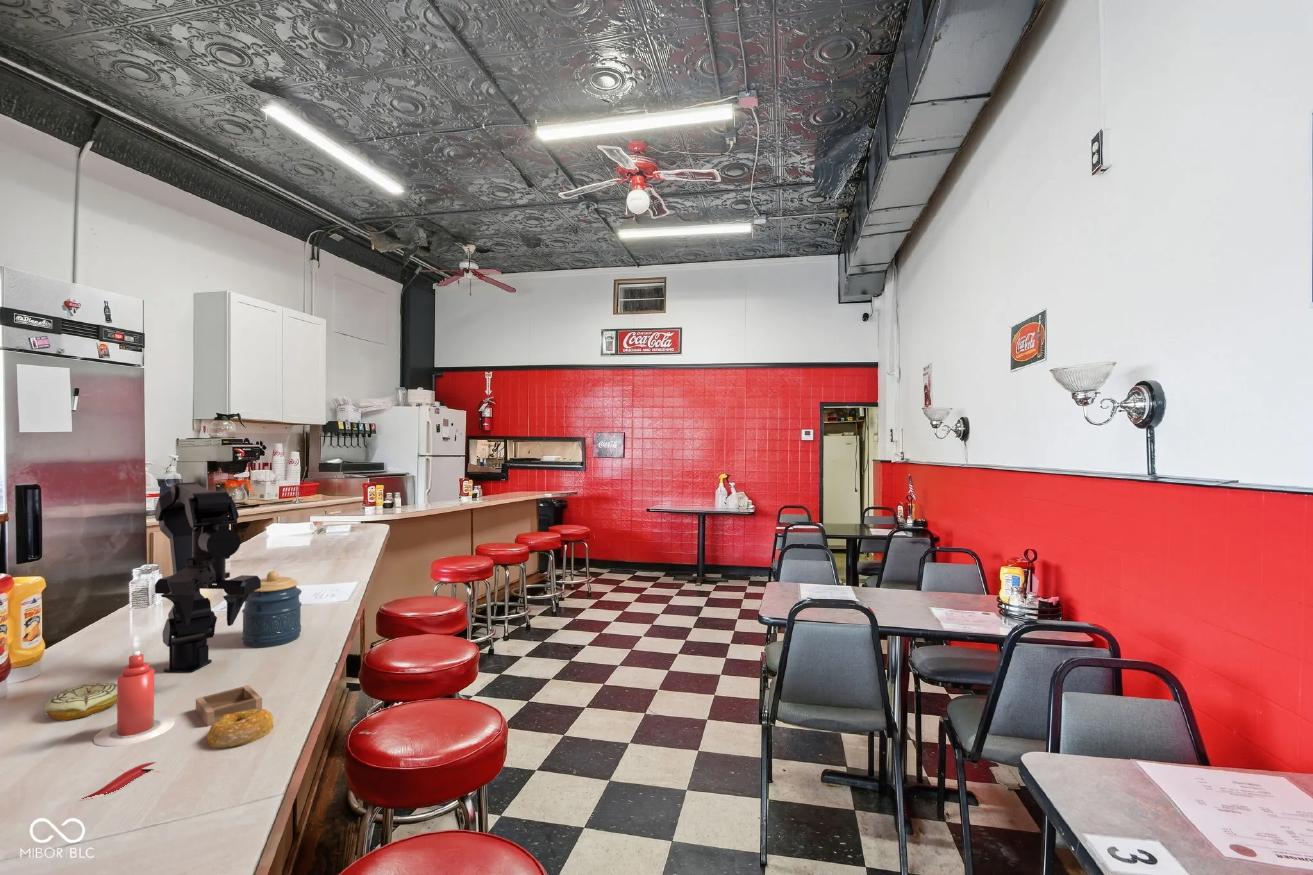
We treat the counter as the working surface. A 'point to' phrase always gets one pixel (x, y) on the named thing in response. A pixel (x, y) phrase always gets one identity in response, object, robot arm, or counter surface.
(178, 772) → the counter surface
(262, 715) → the bagel
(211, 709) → the tray
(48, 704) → the decorated donut
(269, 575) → the canister
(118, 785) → the cayenne pepper
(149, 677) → the ketchup bottle
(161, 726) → the saucer
